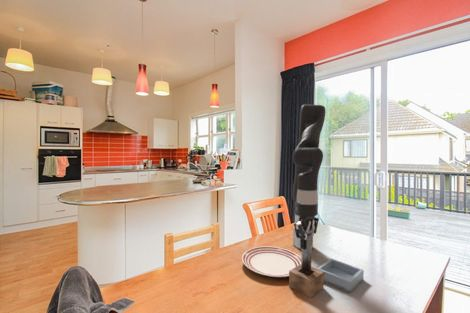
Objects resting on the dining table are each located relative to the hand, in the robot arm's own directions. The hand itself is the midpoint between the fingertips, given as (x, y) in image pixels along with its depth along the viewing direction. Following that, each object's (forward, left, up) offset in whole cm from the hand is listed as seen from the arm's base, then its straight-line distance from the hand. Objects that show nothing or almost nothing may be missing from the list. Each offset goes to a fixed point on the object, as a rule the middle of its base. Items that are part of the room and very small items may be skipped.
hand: (306, 247), depth 86 cm
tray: (+6, +15, -15) cm, 22 cm away
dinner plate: (-19, +4, -16) cm, 25 cm away
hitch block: (0, 0, -15) cm, 15 cm away
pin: (0, 0, -8) cm, 8 cm away
